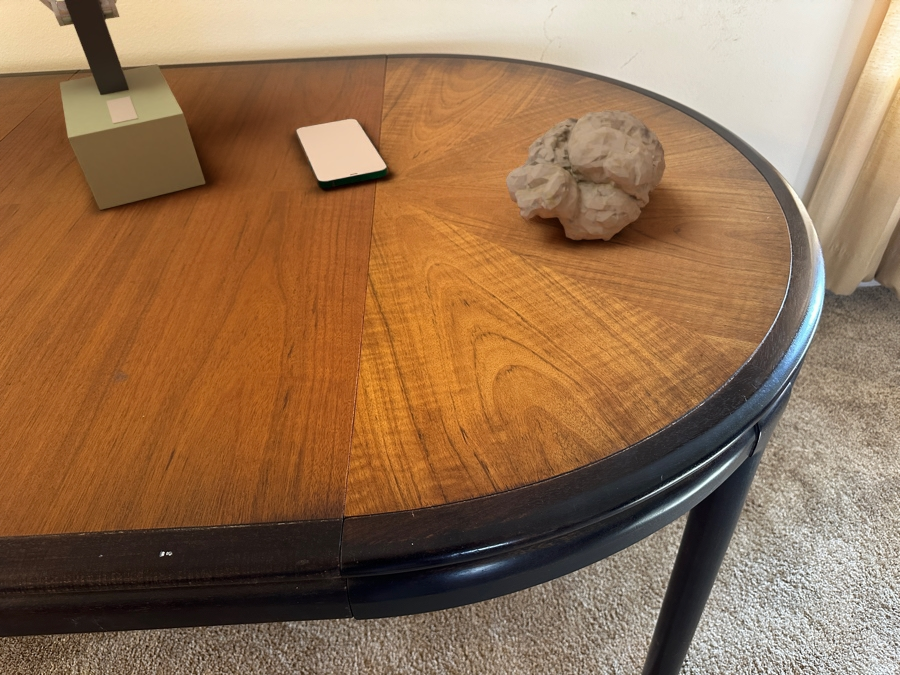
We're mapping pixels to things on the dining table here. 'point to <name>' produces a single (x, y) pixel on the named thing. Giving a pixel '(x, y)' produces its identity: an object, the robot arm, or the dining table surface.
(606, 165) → the mineral
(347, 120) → the smartphone
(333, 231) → the dining table surface
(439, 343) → the dining table surface
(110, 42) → the bar
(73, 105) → the tissue box
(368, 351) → the dining table surface
